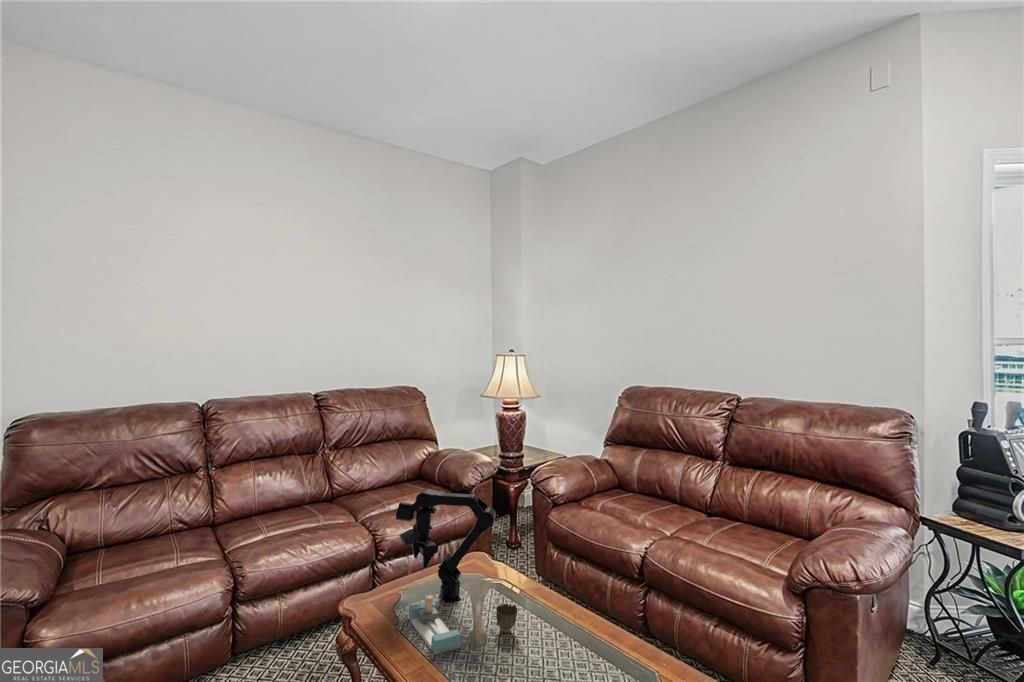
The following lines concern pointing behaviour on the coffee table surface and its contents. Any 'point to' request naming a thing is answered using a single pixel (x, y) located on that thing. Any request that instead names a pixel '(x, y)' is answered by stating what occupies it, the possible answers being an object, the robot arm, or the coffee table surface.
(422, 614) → the carriage
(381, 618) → the coffee table surface
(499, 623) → the cup
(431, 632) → the rail track
